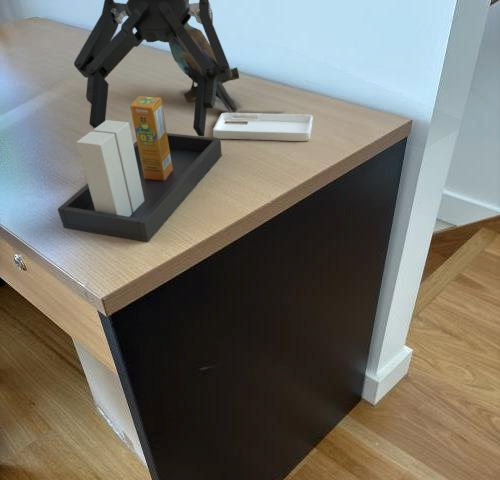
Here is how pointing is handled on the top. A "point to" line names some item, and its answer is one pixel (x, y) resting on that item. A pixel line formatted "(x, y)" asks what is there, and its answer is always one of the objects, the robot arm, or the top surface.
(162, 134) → the supplement box
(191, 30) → the bird figurine
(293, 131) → the phone case
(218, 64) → the robot arm
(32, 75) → the top surface
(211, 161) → the tray
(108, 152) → the white boxes
